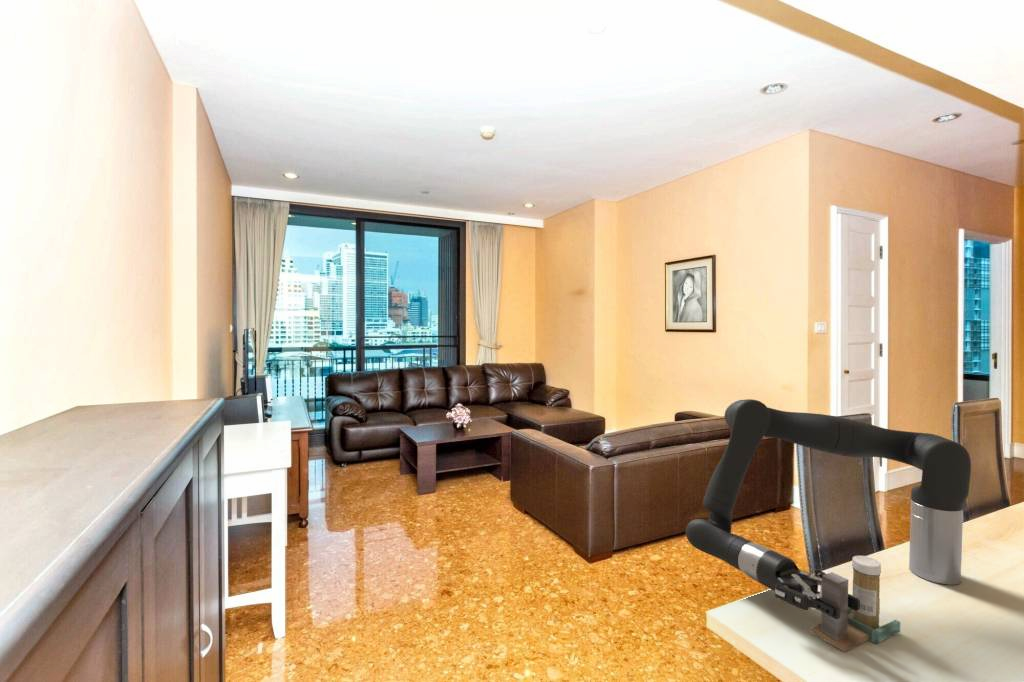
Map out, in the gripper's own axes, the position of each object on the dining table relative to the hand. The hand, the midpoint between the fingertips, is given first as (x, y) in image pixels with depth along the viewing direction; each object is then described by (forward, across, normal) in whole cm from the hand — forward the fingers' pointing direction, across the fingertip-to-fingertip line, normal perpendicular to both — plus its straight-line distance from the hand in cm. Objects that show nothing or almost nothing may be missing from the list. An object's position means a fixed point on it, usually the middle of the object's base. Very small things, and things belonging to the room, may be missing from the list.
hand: (848, 609), depth 88 cm
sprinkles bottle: (-3, +10, +8) cm, 13 cm away
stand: (-3, +6, +7) cm, 10 cm away
